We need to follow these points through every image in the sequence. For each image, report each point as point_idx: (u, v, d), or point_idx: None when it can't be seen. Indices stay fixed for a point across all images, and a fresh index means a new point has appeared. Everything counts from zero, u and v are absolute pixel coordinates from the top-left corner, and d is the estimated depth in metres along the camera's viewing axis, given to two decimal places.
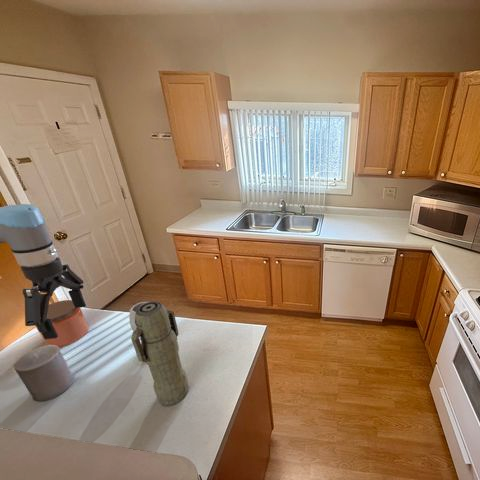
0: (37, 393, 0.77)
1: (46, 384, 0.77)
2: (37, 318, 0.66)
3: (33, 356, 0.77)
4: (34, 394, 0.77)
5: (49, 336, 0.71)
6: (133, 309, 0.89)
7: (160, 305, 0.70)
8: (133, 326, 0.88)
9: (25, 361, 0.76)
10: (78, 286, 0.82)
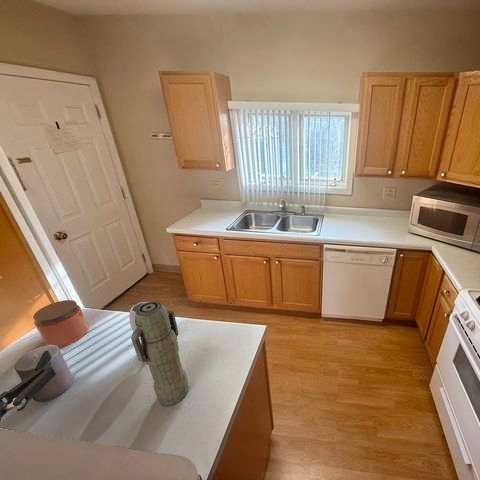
0: (37, 393, 0.77)
1: (46, 384, 0.77)
2: None
3: (33, 356, 0.77)
4: None
5: None
6: (133, 309, 0.89)
7: (160, 305, 0.70)
8: (133, 326, 0.88)
9: (25, 361, 0.76)
10: None
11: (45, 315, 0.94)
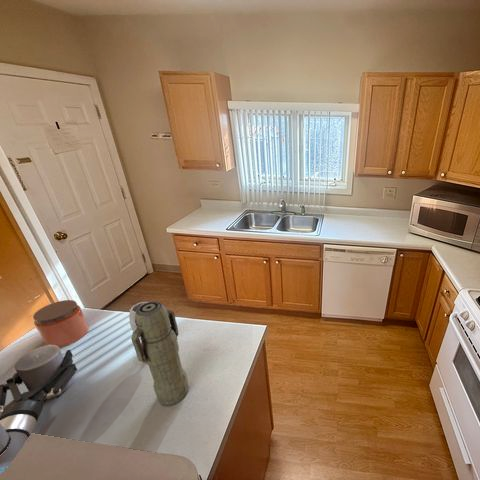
0: None
1: None
2: None
3: (33, 356, 0.77)
4: None
5: None
6: (133, 309, 0.89)
7: (160, 305, 0.70)
8: (132, 326, 0.88)
9: (25, 361, 0.76)
10: None
11: (45, 315, 0.94)
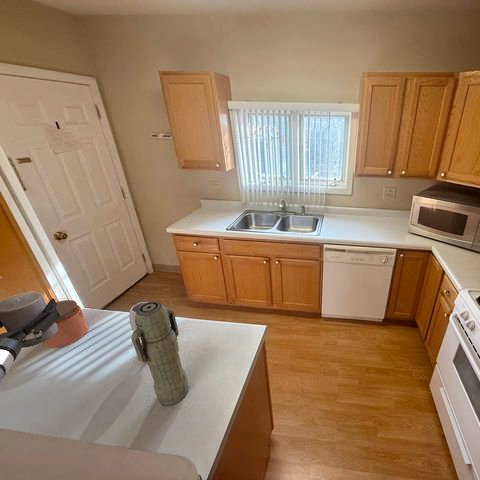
0: None
1: None
2: None
3: (14, 300, 0.75)
4: None
5: None
6: (133, 309, 0.89)
7: (160, 305, 0.70)
8: (132, 326, 0.88)
9: (6, 304, 0.73)
10: None
11: None
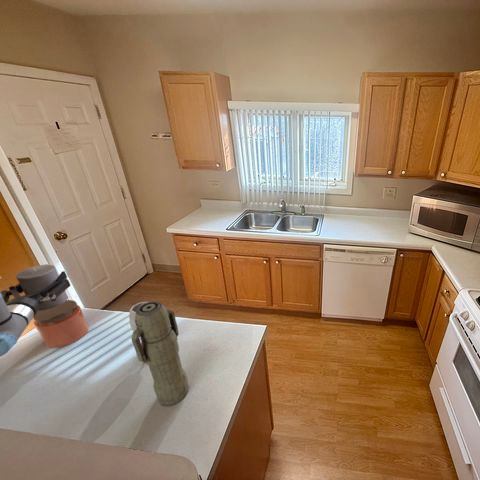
0: None
1: None
2: None
3: (32, 270, 0.89)
4: None
5: None
6: (133, 309, 0.89)
7: (160, 305, 0.70)
8: (132, 326, 0.88)
9: (25, 273, 0.87)
10: None
11: (45, 315, 0.94)
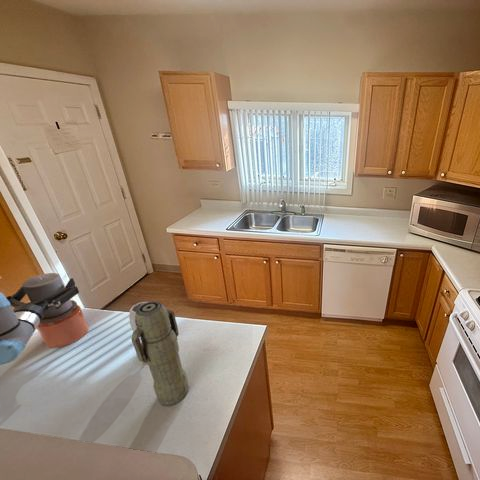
0: None
1: None
2: None
3: (38, 279, 0.92)
4: None
5: None
6: (133, 309, 0.89)
7: (160, 305, 0.70)
8: (132, 326, 0.88)
9: (31, 281, 0.90)
10: None
11: None
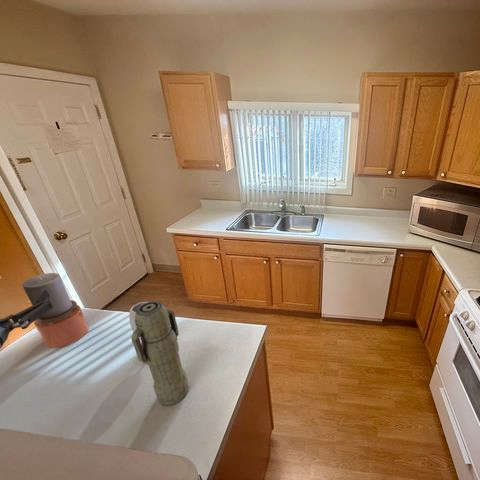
0: None
1: None
2: None
3: (38, 279, 0.92)
4: None
5: None
6: (133, 309, 0.89)
7: (160, 305, 0.70)
8: (132, 326, 0.88)
9: (31, 281, 0.90)
10: None
11: None
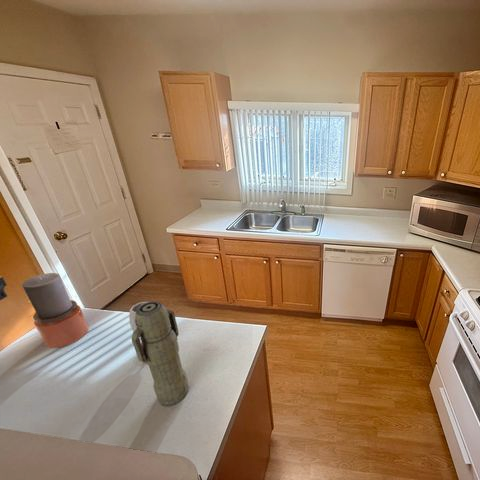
0: (41, 309, 0.91)
1: (49, 302, 0.92)
2: None
3: (38, 279, 0.92)
4: (39, 310, 0.92)
5: None
6: (133, 309, 0.89)
7: (160, 305, 0.70)
8: (132, 326, 0.88)
9: (31, 281, 0.90)
10: None
11: None
